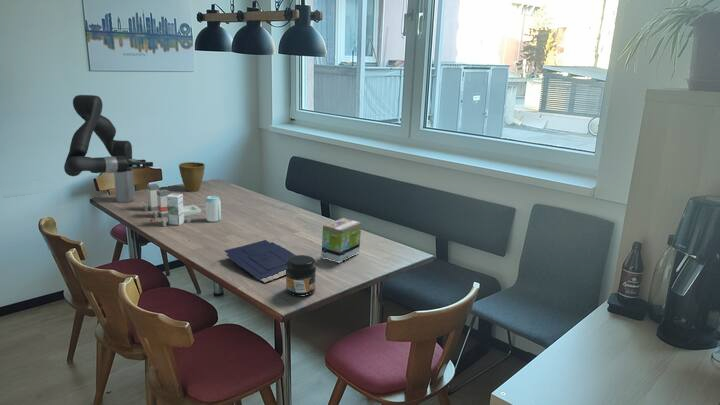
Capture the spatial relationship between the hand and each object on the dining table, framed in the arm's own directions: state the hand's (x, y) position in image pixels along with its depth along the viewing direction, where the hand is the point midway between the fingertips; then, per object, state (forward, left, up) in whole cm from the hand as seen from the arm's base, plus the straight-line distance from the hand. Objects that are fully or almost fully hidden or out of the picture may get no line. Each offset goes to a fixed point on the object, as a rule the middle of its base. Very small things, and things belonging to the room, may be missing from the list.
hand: (149, 163), depth 247 cm
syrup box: (+13, +7, -28) cm, 32 cm away
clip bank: (-1, +5, -28) cm, 29 cm away
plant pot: (-43, +40, -28) cm, 65 cm away
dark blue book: (+82, +16, -29) cm, 88 cm away
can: (+18, +24, -28) cm, 41 cm away
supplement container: (+110, +13, -28) cm, 115 cm away
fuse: (-16, +7, -28) cm, 33 cm away
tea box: (+92, +46, -28) cm, 107 cm away
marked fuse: (-2, +7, -28) cm, 29 cm away
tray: (0, +18, -28) cm, 33 cm away
